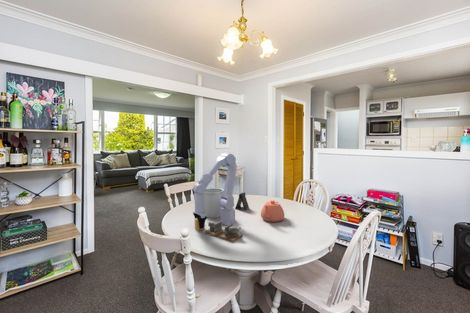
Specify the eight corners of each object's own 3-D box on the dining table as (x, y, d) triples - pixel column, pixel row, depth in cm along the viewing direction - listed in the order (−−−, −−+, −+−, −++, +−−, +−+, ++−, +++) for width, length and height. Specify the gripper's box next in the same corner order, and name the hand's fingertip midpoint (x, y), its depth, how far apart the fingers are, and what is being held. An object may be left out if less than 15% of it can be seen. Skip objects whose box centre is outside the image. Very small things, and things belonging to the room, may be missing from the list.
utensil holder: (214, 219, 153) (214, 193, 151) (198, 215, 162) (198, 190, 160) (228, 213, 164) (228, 189, 163) (212, 209, 173) (212, 186, 172)
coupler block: (202, 226, 140) (202, 217, 140) (204, 228, 137) (204, 219, 136) (194, 227, 138) (194, 218, 138) (196, 230, 135) (196, 220, 134)
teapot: (276, 227, 140) (277, 207, 139) (253, 222, 148) (254, 203, 147) (288, 216, 158) (289, 198, 157) (267, 212, 167) (267, 195, 166)
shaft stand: (204, 233, 131) (204, 222, 130) (214, 228, 138) (214, 218, 138) (233, 242, 119) (233, 231, 119) (242, 236, 126) (242, 225, 126)
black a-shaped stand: (235, 208, 176) (235, 193, 175) (238, 206, 181) (238, 191, 180) (246, 210, 172) (246, 194, 171) (249, 208, 177) (249, 192, 176)
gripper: (189, 201, 141) (190, 222, 142) (196, 207, 128) (196, 231, 129) (201, 200, 144) (201, 221, 145) (208, 206, 131) (208, 229, 132)
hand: (199, 226), depth 138 cm, fingers open, 7 cm apart
